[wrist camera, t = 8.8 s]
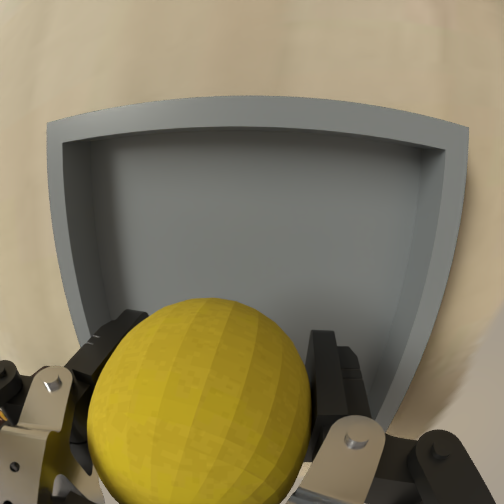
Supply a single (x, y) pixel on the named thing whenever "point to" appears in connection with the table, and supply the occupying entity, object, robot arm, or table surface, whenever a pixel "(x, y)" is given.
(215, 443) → the lemon
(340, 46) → the table surface
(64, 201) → the tray
